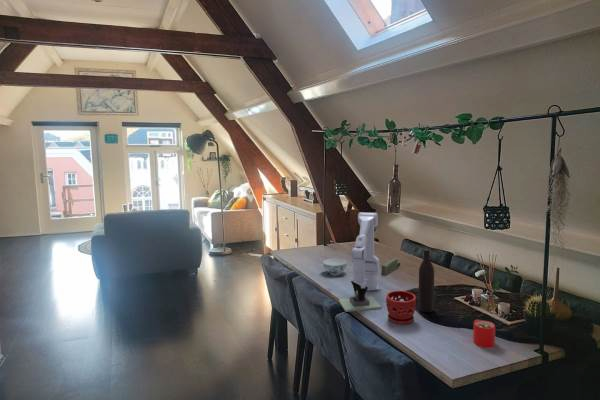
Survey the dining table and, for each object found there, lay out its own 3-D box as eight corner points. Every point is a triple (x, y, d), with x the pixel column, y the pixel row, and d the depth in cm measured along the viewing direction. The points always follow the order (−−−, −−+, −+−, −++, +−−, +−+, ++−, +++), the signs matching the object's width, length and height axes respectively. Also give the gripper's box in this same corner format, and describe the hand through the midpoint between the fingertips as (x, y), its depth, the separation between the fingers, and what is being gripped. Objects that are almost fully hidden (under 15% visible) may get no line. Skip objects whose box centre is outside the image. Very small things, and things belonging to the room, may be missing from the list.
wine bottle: (433, 308, 203) (433, 248, 199) (434, 313, 196) (435, 251, 192) (418, 307, 204) (418, 247, 200) (419, 313, 198) (419, 251, 194)
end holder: (338, 301, 215) (338, 295, 215) (372, 298, 218) (372, 292, 218) (345, 311, 202) (345, 306, 201) (381, 308, 204) (381, 302, 204)
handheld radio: (380, 275, 256) (396, 265, 276) (385, 276, 254) (401, 265, 274) (380, 264, 255) (397, 255, 275) (385, 265, 253) (402, 256, 273)
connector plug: (354, 301, 211) (354, 290, 211) (362, 301, 212) (362, 289, 211) (357, 304, 207) (356, 293, 207) (364, 304, 208) (364, 292, 207)
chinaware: (352, 272, 261) (351, 261, 260) (337, 279, 250) (337, 266, 249) (333, 268, 271) (332, 257, 270) (318, 274, 260) (318, 262, 259)
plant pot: (380, 318, 193) (380, 294, 191) (401, 312, 199) (401, 288, 197) (400, 329, 181) (400, 303, 180) (422, 322, 188) (422, 296, 186)
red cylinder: (482, 333, 175) (482, 315, 174) (498, 346, 164) (499, 327, 162) (464, 334, 175) (464, 316, 173) (479, 348, 163) (480, 329, 162)
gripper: (371, 275, 201) (371, 302, 203) (362, 266, 215) (362, 291, 217) (357, 276, 200) (357, 303, 202) (349, 267, 214) (349, 292, 216)
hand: (359, 297), depth 209 cm, fingers open, 7 cm apart
